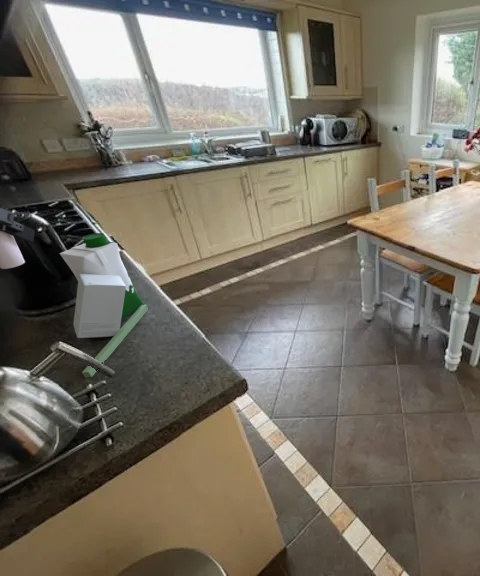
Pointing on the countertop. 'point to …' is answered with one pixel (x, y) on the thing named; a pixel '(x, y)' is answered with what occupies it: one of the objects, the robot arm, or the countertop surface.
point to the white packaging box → (98, 305)
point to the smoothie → (9, 252)
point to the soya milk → (102, 266)
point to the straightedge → (116, 339)
